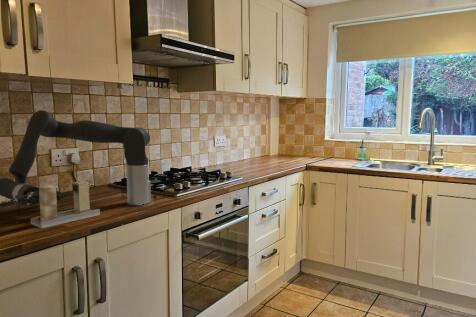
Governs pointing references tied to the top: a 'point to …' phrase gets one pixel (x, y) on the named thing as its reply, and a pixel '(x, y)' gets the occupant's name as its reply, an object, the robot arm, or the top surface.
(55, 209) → the beige tall rectangular block
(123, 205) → the top surface
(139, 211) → the top surface
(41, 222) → the rail
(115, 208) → the top surface
